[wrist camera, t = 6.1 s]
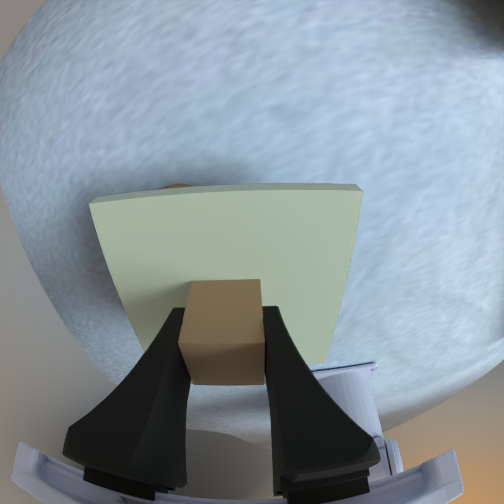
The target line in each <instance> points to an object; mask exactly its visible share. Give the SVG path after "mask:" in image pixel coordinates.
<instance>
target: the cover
mask: <svg viewBox="0 0 504 504" xmlns="http://www.w3.org/2000/svg"><path fill="white" fill-rule="evenodd" d="M362 194H363V191H362V190H361V189H360V188H359V187H358V186H357V185H356V184H332V183H258V184H229V185H210V186H194V187H181V188H169V189H158V190H148V191H138V192H129V193H121V194H113V195H106V196H99V197H96V198H95V199H94V200H93V201H92V202H90V203H89V207H90V211H91V215H92V218H93V222H94V225H95V229H96V232H97V235H98V238H99V242H100V245H101V248H102V251H103V254H104V257H105V260H106V263H107V266H108V268H109V271H110V274H111V277H112V279H113V282H114V284H115V287H116V290H117V292H118V295H119V297H120V300H121V302H122V304H123V307H124V309H125V311H126V314H127V316H128V318H129V320H130V323H131V325H132V327H133V329H134V331H135V334H136V336H137V338H138V340H139V342H140V344H141V346H142V348H143V350H144V352H146V350H147V349H148V347H149V346H150V344H151V343H152V341H153V340H154V338H155V337H156V335H157V334H158V332H159V330H160V329H161V327H162V326H163V324H164V322H165V321H166V319H167V317H168V315H169V314H170V312H171V310H172V309H173V308H174V307H179V308H185V312H184V317H183V323H182V326H181V330H180V335H179V340H178V345H179V347H180V350H181V353H182V356H183V358H184V361H185V364H186V366H187V369H188V372H189V374H190V377H191V379H192V382H193V384H194V385H264V366H265V336H264V325H263V309H262V306H278V307H279V310H280V313H281V316H282V318H283V321H284V323H285V326H286V328H287V330H288V332H289V334H290V336H291V338H292V340H293V342H294V344H295V346H296V348H297V349H298V351H299V353H300V355H301V356H302V358H303V360H304V361H305V363H306V364H307V365H308V364H318V363H324V362H325V359H326V356H327V352H328V349H329V346H330V342H331V339H332V336H333V332H334V328H335V325H336V321H337V317H338V314H339V310H340V306H341V302H342V298H343V294H344V290H345V285H346V281H347V277H348V272H349V267H350V263H351V258H352V253H353V248H354V243H355V237H356V232H357V226H358V220H359V214H360V207H361V201H362Z"/></svg>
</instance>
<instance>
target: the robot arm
mask: <svg viewBox="0 0 504 504" xmlns="http://www.w3.org/2000/svg"><path fill="white" fill-rule="evenodd" d="M262 309H263V325H264V336H265V366H264V372H265V379H266V385H267V392H268V398H269V406H270V418H271V438H272V461H273V492H274V496H283V498H282V499H267V500H219V499H204V498H193V497H185V496H177V495H171V494H167V493H168V490H172V491H175V487H177V488H182V487H184V486H185V485H186V484H187V475H186V451H185V435H186V409H187V401H188V395H189V389H190V383H191V377H190V374H189V372H188V369H187V366H186V364H185V361H184V358H183V356H182V353H181V350H180V347H179V345H178V340H179V335H180V330H181V326H182V323H183V317H184V312H185V308H179V307H174V308H173V309H172V310H171V312H170V314H169V315H168V317H167V319H166V321H165V322H164V324H163V326H162V327H161V329H160V330H159V332H158V334H157V335H156V337H155V338H154V340H153V341H152V343H151V344H150V346H149V347H148V349H147V350H146V352H145V353H144V354H143V356H142V357H141V358H140V360H139V361H138V362H137V364H136V365H135V366H134V368H133V369H132V370H131V371H130V373H129V374H128V375H127V376H126V377H125V378H124V380H123V381H122V382H121V383H120V384H119V385H118V386H117V387H116V388H115V389H114V391H112V393H110V394H109V395H108V396H107V397H106V398H105V399H104V400H103V401H102V402H101V403H100V404H98V405H97V406H96V407H95V408H94V409H93V410H92V411H90V412H89V413H88V414H87V415H85V416H84V417H83V418H81V419H80V420H78V421H77V422H76V423H74V424H73V425H71V426H70V427H69V428H68V431H67V434H66V438H65V443H64V448H63V452H62V453H63V455H64V456H65V457H67V458H69V459H71V460H73V461H75V462H77V463H79V464H82V465H84V466H85V469H84V471H81V470H79V469H76V468H74V467H71V466H69V465H66V464H64V463H62V462H60V461H58V460H55V459H53V458H51V457H49V456H47V455H46V454H44V453H42V452H40V451H38V450H36V449H35V448H33V447H31V446H29V445H27V444H25V443H24V442H22V441H19V445H18V449H17V453H16V457H15V462H14V467H13V472H12V478H11V480H12V481H13V482H14V483H16V484H17V485H19V486H20V487H22V488H23V489H24V490H26V491H27V492H29V493H30V494H32V495H33V496H35V497H36V498H37V499H39V500H40V501H41V502H43V503H44V504H132V503H130V502H129V500H128V499H132V500H136V501H140V502H145V503H149V504H447V503H448V502H450V501H451V500H453V499H455V498H456V497H458V496H460V495H461V494H463V492H464V490H463V484H462V479H461V475H460V471H459V466H458V463H457V459H456V455H455V451H454V449H451V450H449V451H447V452H445V453H443V454H441V455H439V456H436V457H434V458H433V459H430V460H428V461H426V462H424V463H422V464H420V465H418V466H416V467H413V468H411V469H408V470H406V471H403V466H402V461H401V457H400V453H399V449H398V445H397V442H396V441H394V440H392V439H388V440H385V439H384V437H383V434H382V430H381V426H380V422H379V418H378V414H377V410H376V407H375V403H374V399H373V396H372V392H371V389H370V385H369V382H368V381H369V379H370V378H371V376H372V375H373V373H374V372H375V370H376V368H377V367H378V365H377V363H371V364H365V365H359V366H353V367H346V368H339V369H332V370H323V371H315V372H311V370H310V369H309V367H308V366H307V364H306V363H305V361H304V360H303V358H302V356H301V355H300V353H299V351H298V349H297V348H296V346H295V344H294V342H293V340H292V338H291V336H290V334H289V332H288V330H287V328H286V326H285V323H284V321H283V318H282V316H281V313H280V310H279V307H278V306H262ZM127 498H128V499H127Z"/></svg>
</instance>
